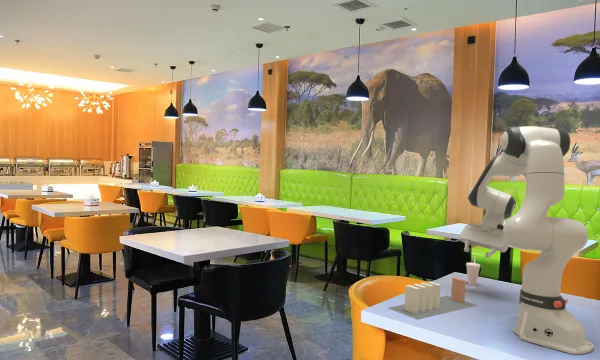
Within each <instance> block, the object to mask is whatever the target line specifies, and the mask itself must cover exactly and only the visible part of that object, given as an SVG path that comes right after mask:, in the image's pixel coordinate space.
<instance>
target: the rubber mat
mask: <svg viewBox="0 0 600 360" xmlns="http://www.w3.org/2000/svg"><path fill="white" fill-rule="evenodd" d="M477 306H478V304H475V303H472V302H469V301H465V300H464V303H460V302H456V301H453V300H451V295H444V296H440V301H439V309H435V308H432V310H430V311H429V310H426V309H425V312H421V311H418V313H417V314H414V313H412V312H409V311H406V310H404V309H405V303H404V304H399V305H396V306H395V305H394V306H390V307H388V309H389V310H392V311H394V312H397V313H399V314H402V315H404V316H407V317H410V318H412V319H415V320H417V321H418V320H422V319H426V318H430V317H435V316H440V315H442V314H446V313H452V312H456V311H459V310H465V309H468V308H471V307H477Z"/></svg>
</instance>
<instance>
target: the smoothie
mask: <svg viewBox="0 0 600 360" xmlns="http://www.w3.org/2000/svg"><path fill="white" fill-rule="evenodd" d="M476 256H477V255H476V254H474V258H473V259H474V260H473V262H466V263H465V266H466V275H467V277H466V278H467V285H469V286H474V285H475V286H477V282H478V278H479V272H480V268H481V264H479V263H477V262H476Z"/></svg>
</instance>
